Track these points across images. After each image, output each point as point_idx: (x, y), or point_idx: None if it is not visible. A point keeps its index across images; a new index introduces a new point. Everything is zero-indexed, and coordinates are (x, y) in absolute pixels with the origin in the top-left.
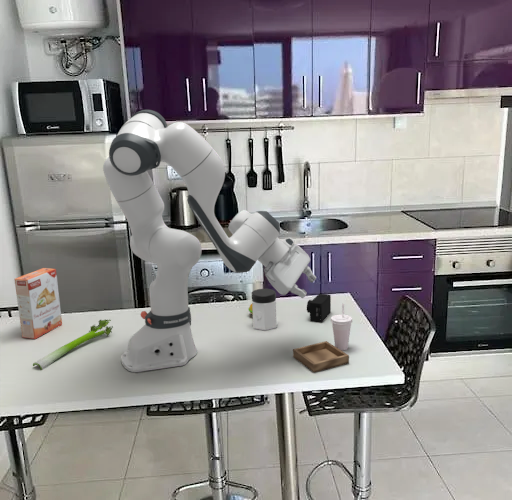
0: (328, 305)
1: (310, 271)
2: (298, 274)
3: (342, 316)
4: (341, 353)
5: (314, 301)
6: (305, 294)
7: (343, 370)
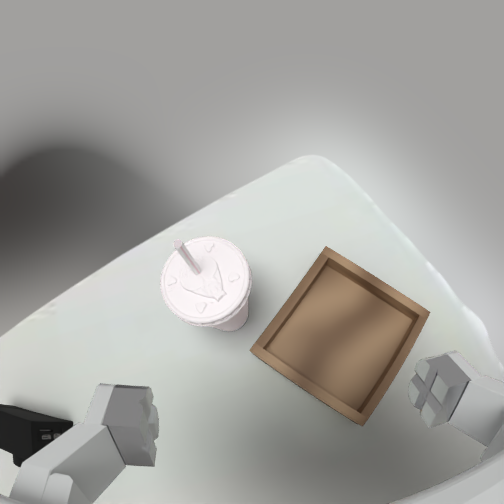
0: (5, 407)
1: (76, 449)
2: (461, 501)
3: (198, 271)
4: (318, 272)
5: (21, 447)
6: (454, 352)
7: (368, 255)
